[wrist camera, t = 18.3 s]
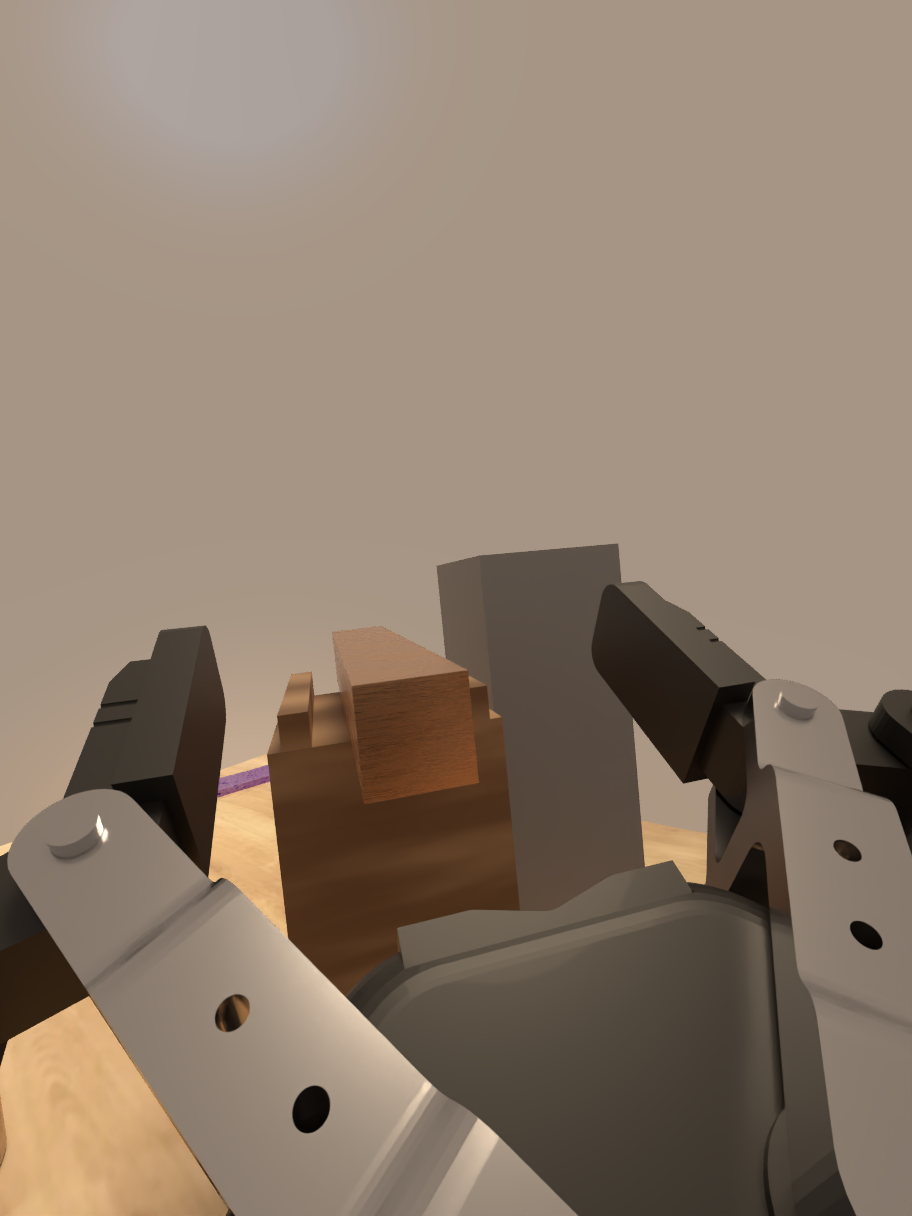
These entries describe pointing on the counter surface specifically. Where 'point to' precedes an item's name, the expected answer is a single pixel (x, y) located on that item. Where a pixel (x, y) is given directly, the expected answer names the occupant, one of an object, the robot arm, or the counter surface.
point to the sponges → (243, 780)
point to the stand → (550, 712)
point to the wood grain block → (380, 839)
